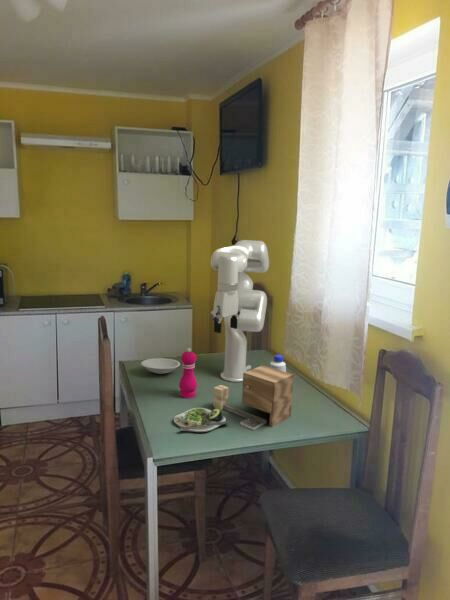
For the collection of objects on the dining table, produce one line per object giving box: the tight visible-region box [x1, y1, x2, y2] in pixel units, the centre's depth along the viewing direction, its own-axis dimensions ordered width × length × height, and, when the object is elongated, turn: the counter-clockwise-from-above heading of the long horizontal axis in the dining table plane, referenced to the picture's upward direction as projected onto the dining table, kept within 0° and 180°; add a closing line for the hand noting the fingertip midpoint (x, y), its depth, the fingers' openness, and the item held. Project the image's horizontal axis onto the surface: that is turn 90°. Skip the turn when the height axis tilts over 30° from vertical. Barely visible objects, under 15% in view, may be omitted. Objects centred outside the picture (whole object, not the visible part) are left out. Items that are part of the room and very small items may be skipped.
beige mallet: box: [212, 384, 267, 426], centre depth 186 cm, size 4×23×8 cm, turn 50°
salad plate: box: [173, 407, 231, 433], centre depth 178 cm, size 19×18×5 cm
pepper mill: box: [178, 347, 198, 399], centre depth 201 cm, size 7×7×20 cm
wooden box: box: [241, 364, 295, 427], centre depth 185 cm, size 13×14×16 cm
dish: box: [140, 357, 181, 375], centre depth 226 cm, size 18×14×5 cm
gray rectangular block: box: [239, 417, 265, 431], centre depth 179 cm, size 6×6×2 cm
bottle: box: [269, 354, 287, 372], centre depth 197 cm, size 7×7×20 cm
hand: (225, 330), depth 196 cm, fingers open, 9 cm apart
